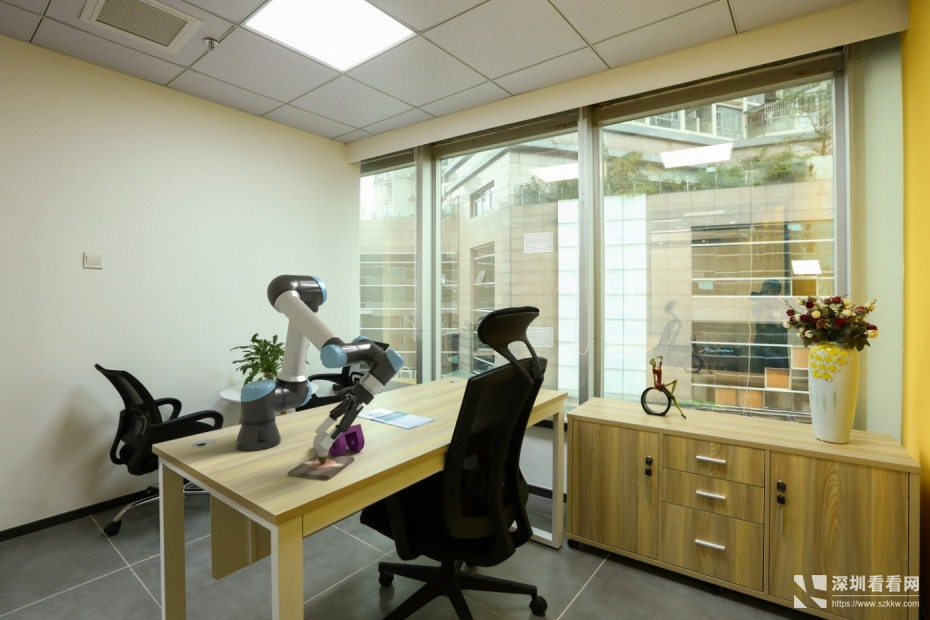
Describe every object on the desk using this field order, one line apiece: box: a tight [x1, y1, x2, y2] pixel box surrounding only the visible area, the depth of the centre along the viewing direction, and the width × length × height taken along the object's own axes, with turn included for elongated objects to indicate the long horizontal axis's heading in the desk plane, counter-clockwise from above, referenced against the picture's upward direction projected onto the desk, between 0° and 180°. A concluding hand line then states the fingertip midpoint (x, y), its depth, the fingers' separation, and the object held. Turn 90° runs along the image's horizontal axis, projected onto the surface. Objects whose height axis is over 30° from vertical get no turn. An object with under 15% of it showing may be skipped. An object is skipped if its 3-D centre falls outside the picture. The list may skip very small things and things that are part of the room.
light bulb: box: [312, 431, 332, 464], centre depth 141 cm, size 6×6×10 cm
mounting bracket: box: [328, 423, 366, 456], centre depth 158 cm, size 10×9×19 cm
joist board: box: [287, 454, 355, 481], centre depth 141 cm, size 14×16×1 cm
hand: (320, 440), depth 140 cm, fingers open, 13 cm apart
